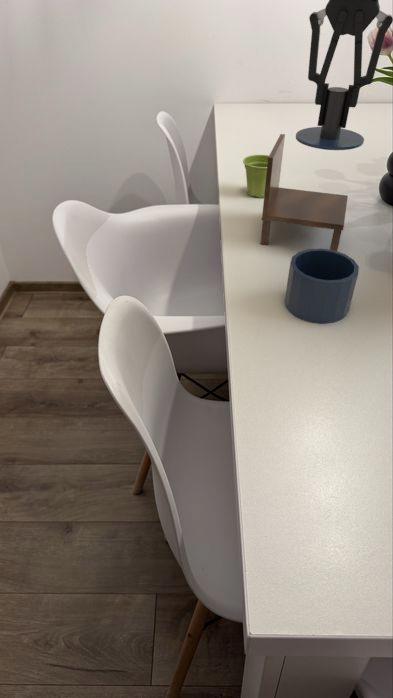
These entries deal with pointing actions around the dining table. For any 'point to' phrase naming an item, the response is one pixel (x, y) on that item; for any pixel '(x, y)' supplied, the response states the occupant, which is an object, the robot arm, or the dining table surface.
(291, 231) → the dining table surface
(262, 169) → the plant pot
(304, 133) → the lid
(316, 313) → the pot
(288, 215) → the wooden toy chair
